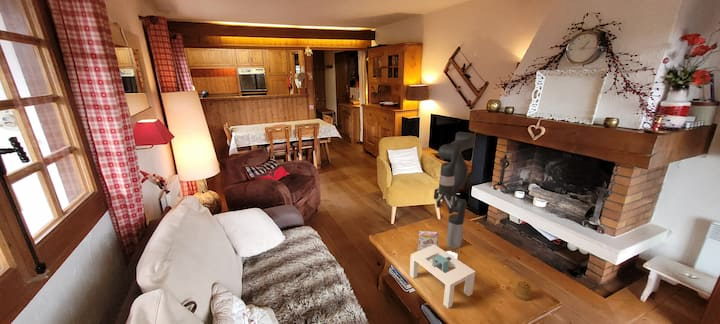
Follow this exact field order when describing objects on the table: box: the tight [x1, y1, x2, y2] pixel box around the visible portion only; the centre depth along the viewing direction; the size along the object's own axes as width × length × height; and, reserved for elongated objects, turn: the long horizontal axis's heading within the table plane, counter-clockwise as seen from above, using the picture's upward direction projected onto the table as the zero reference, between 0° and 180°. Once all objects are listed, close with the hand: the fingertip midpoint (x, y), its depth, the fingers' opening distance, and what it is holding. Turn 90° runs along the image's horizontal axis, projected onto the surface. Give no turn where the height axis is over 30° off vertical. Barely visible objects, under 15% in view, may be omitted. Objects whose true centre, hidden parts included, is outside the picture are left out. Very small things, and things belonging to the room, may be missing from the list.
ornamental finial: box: [513, 280, 532, 301], centre depth 146 cm, size 8×8×8 cm
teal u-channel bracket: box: [434, 255, 450, 273], centre depth 151 cm, size 4×6×9 cm, turn 31°
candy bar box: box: [417, 230, 439, 251], centre depth 176 cm, size 11×5×16 cm, turn 84°
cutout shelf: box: [409, 244, 476, 309], centre depth 153 cm, size 18×28×15 cm, turn 31°
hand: (444, 210), depth 157 cm, fingers open, 8 cm apart
